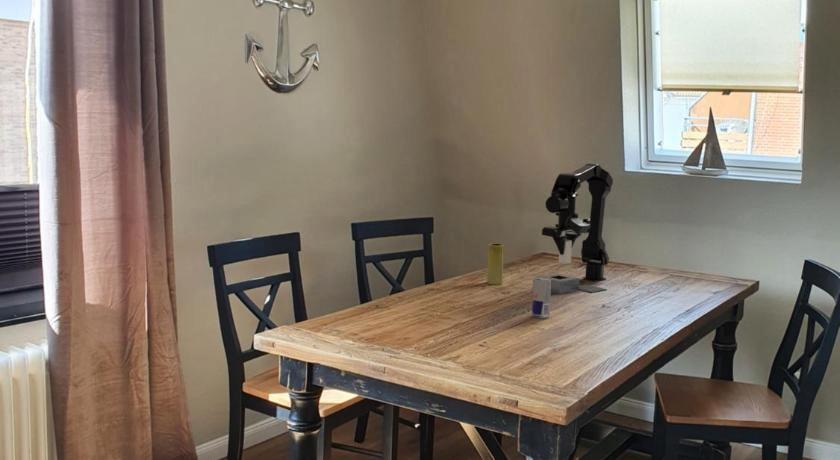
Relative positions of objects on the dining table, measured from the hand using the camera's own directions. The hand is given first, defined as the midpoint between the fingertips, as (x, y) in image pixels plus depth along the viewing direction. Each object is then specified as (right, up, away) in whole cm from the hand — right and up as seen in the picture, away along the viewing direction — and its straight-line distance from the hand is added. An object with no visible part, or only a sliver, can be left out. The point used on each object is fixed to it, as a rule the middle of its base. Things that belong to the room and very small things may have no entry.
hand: (565, 254), depth 301 cm
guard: (-2, -13, +2) cm, 13 cm away
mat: (+10, -13, +3) cm, 16 cm away
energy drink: (-14, -18, -37) cm, 43 cm away
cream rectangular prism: (0, -3, 0) cm, 3 cm away
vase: (-24, -11, +11) cm, 28 cm away
